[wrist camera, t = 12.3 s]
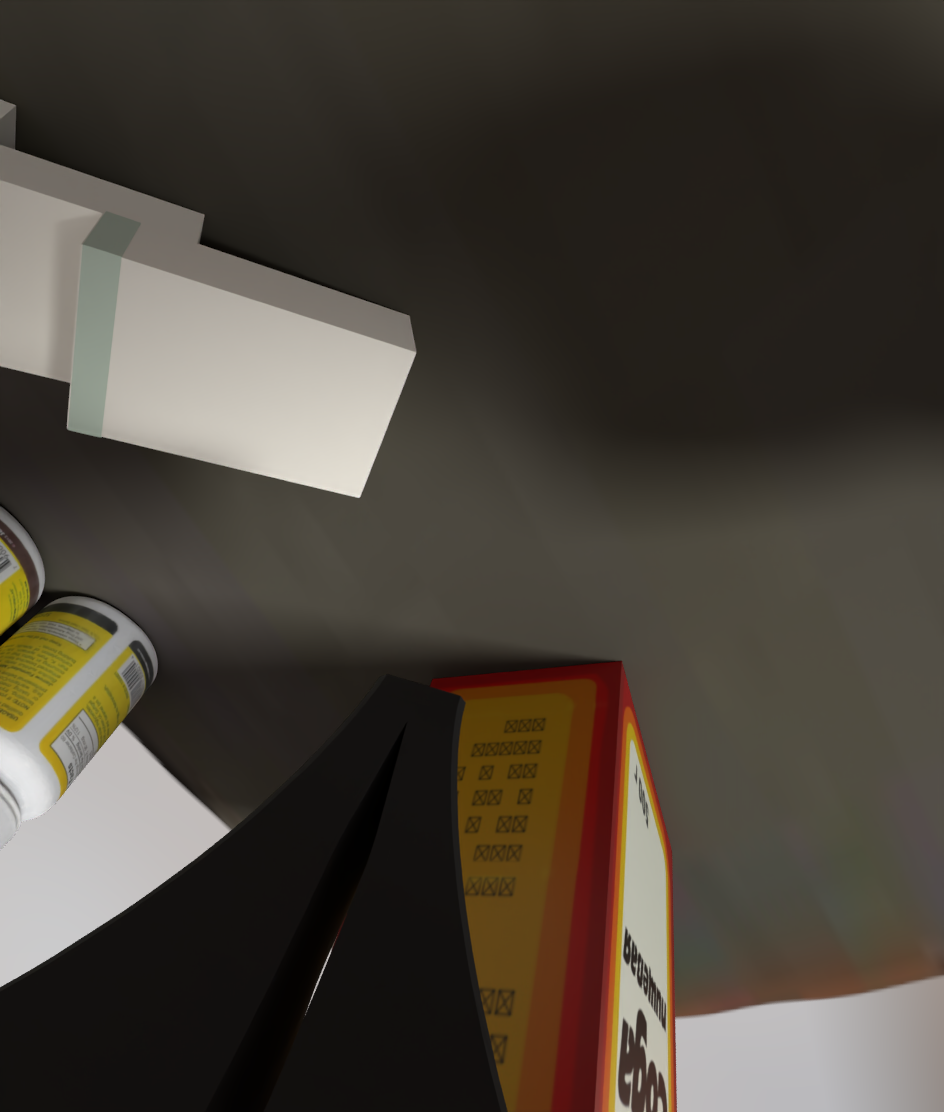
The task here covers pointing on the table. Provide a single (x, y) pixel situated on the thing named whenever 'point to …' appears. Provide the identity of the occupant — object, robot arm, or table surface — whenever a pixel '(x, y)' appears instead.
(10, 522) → the supplement bottle
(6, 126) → the domino
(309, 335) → the domino head
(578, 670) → the baking soda box
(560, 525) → the table surface
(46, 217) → the domino
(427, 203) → the table surface
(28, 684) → the supplement bottle
